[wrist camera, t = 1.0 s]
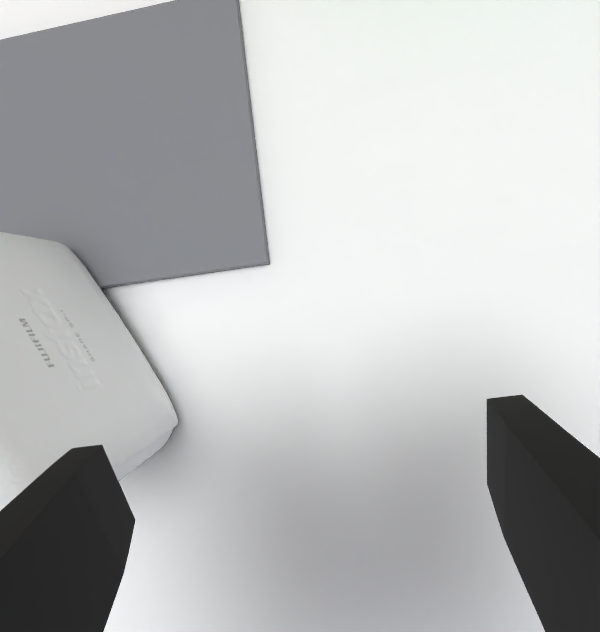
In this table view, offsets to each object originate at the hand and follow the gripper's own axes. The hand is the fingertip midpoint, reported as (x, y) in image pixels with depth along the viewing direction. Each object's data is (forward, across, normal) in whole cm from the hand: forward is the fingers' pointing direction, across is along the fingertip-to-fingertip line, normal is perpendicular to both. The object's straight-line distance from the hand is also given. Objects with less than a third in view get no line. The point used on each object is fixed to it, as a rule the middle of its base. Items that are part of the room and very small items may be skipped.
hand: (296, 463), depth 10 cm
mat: (+17, +10, -4) cm, 20 cm away
